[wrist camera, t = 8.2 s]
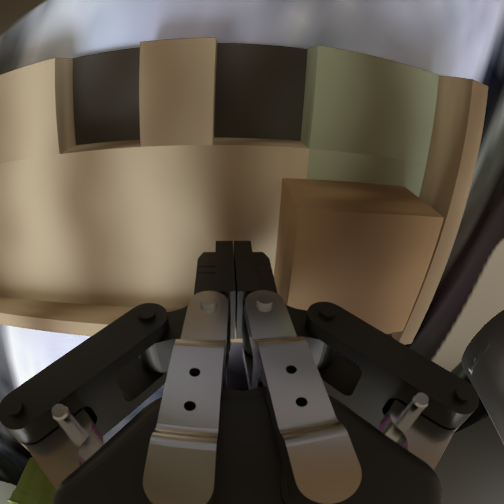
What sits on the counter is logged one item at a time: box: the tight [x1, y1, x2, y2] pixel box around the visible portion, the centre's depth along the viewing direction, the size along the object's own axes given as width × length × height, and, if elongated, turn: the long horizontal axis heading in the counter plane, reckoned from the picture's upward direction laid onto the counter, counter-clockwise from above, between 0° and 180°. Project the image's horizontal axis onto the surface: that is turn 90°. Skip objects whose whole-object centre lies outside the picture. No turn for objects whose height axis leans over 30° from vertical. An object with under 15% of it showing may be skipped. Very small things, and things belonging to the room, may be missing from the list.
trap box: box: [0, 38, 488, 345], centre depth 13 cm, size 26×14×4 cm, turn 87°
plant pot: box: [7, 457, 57, 504], centre depth 32 cm, size 12×12×11 cm
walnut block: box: [274, 178, 444, 333], centre depth 13 cm, size 6×6×4 cm
